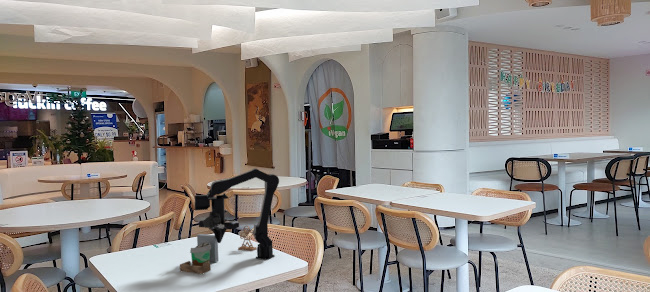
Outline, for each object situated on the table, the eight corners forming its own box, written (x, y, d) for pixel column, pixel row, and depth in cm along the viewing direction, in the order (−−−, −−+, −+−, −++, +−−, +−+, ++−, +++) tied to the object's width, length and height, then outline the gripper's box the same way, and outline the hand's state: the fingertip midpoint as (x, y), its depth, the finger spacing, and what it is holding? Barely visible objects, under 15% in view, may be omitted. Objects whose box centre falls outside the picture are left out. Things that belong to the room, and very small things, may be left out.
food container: (204, 271, 197) (203, 248, 197) (191, 271, 198) (190, 248, 198) (216, 263, 209) (215, 241, 209) (204, 262, 210) (203, 241, 210)
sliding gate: (218, 261, 212) (217, 235, 211) (215, 262, 210) (214, 236, 209) (201, 259, 216) (200, 233, 215) (198, 260, 214) (197, 234, 213)
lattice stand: (238, 249, 232) (237, 226, 232) (242, 247, 236) (241, 224, 236) (252, 251, 229) (251, 227, 228) (257, 249, 232) (256, 225, 232)
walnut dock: (210, 270, 198) (210, 263, 198) (202, 274, 193) (201, 267, 193) (188, 267, 203) (188, 261, 203) (180, 271, 198) (179, 264, 198)
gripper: (189, 210, 206) (191, 245, 206) (224, 212, 198) (225, 248, 198) (206, 206, 216) (207, 239, 216) (239, 208, 208) (240, 242, 208)
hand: (219, 242), depth 210 cm, fingers closed
